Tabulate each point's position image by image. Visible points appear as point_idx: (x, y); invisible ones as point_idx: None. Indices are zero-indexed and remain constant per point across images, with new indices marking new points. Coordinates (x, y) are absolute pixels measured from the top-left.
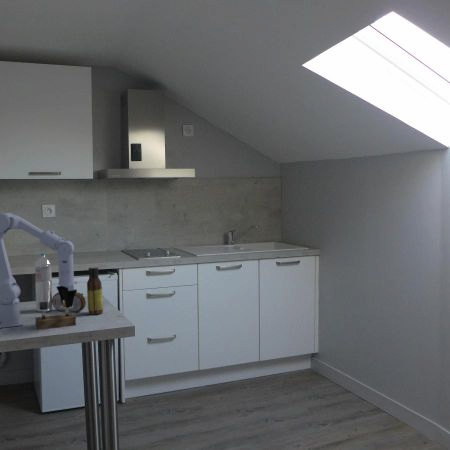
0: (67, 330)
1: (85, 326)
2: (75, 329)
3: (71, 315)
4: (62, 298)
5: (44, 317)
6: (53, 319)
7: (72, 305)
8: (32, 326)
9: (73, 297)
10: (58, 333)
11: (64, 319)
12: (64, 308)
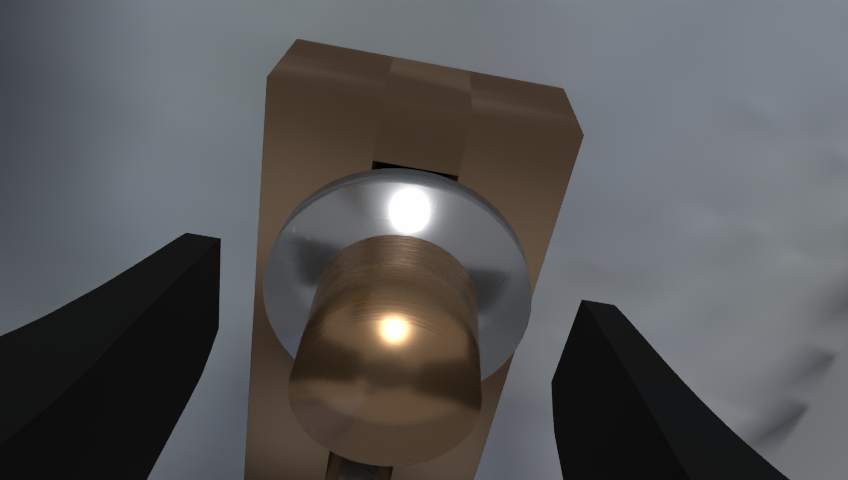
0: (716, 277)
1: (740, 3)
2: (759, 188)
3: (423, 138)
4: (167, 408)
5: (377, 476)
6: (485, 409)
7: (400, 192)
8: None
9: (764, 476)
10: (743, 388)
11: (530, 284)
12: (485, 367)
